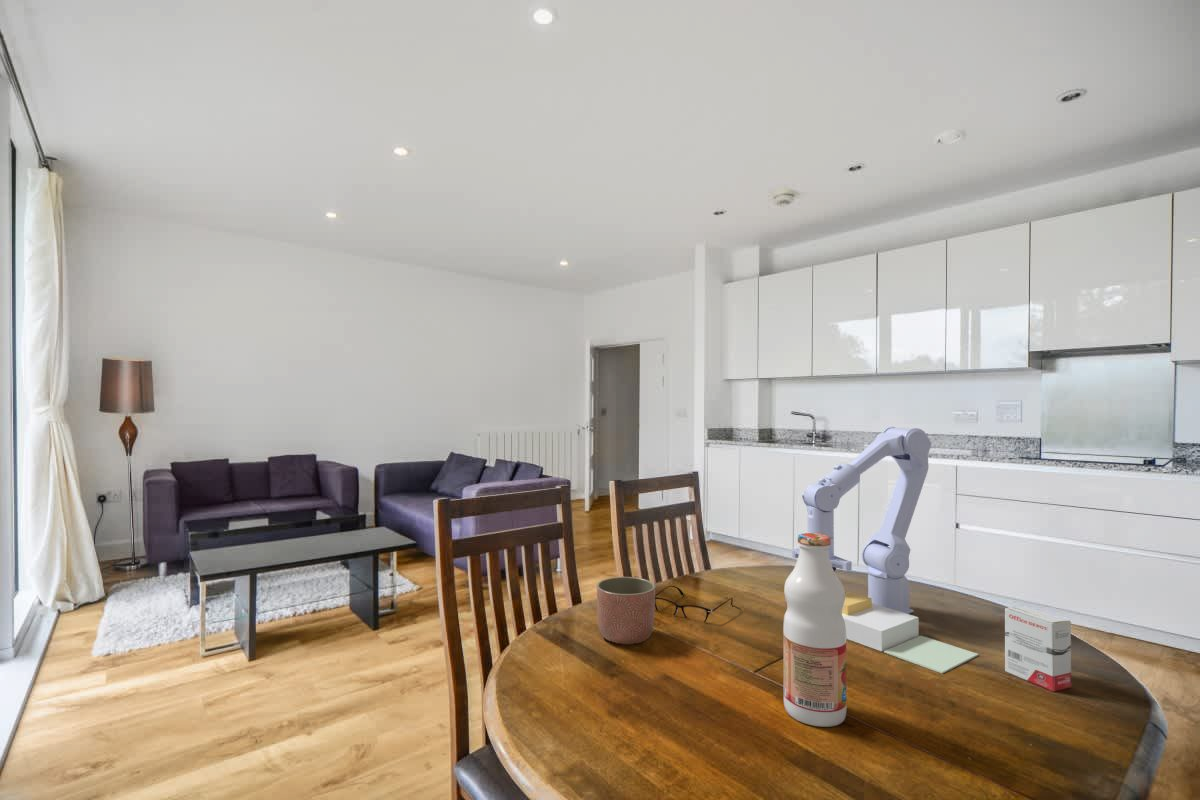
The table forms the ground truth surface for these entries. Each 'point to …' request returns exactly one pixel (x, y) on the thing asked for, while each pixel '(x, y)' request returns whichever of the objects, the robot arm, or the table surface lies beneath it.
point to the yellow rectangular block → (855, 603)
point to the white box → (881, 627)
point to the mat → (931, 654)
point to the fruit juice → (814, 637)
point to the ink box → (1038, 647)
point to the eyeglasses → (687, 605)
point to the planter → (626, 609)
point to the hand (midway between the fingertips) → (820, 594)
